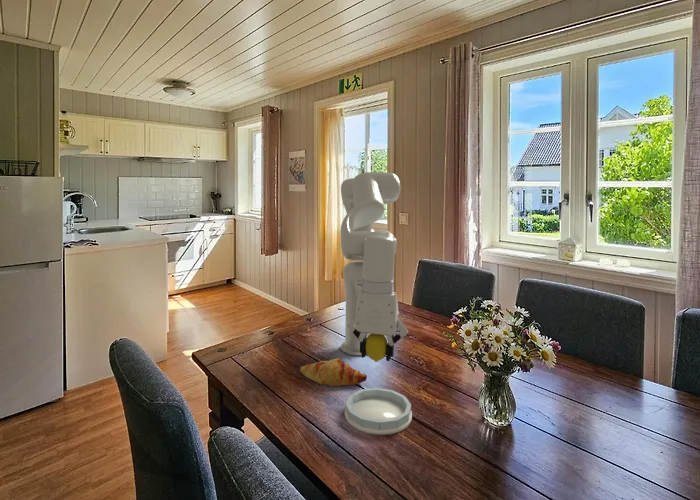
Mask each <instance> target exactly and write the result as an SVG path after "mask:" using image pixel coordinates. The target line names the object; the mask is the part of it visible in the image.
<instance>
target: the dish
mask: <svg viewBox="0 0 700 500" xmlns="http://www.w3.org/2000/svg"><path fill="white" fill-rule="evenodd" d="M344 419H345V421H346V422H347V423H348V425H350V426H351V427H352V428H353V429H355V430H357V431H360V432H362V433H364V434H369V435H377V436H383V435H384V436H386V435H393V434H397V433H400V432H402V431H403V430H405V429H407V428H408V427H409V426H410V424H411V423H412V420H413V411H412V403H411V402H410V401H409V399H408V398H407V397H406V396H405V395H404V394H402V393H400V392H398V391H395V390H393V389H387V388H380V387H372V388H363V389H360V390H358V391H356V392H353V393H352V394H350V395H349V397H348V398H347V400H346V402H345V408H344Z"/></svg>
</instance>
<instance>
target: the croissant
mask: <svg viewBox="0 0 700 500" xmlns="http://www.w3.org/2000/svg"><path fill="white" fill-rule="evenodd" d="M299 370H300V373H301V374H303V376H305V377H306V378H307V379H309V380H311V381H313V382H315V383H317V384H320V385H324V386H325V385H326V386H330V387H340V386H353V385H359V384H361V383H364V382H366V381H367V378H368V375H367V374H366V373H361V371H360V370H358V369H354V368H353V367H352V366H351V365H350V364H349V363H345V362H344V360H343V359H342V358H338V357H337V358H333V359H330V360H321V361H317V362H315V363H308V364H306V365H301V366H300V369H299Z"/></svg>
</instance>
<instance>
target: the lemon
mask: <svg viewBox="0 0 700 500" xmlns="http://www.w3.org/2000/svg"><path fill="white" fill-rule="evenodd" d="M387 344H388V340H387V337H386V335H377V334H370V335H369V336H368V338H367V341H366V346H365V348H366V353H367V355H366V356H367V357H368V358H369V359H371V360H372V361H374V362H375V363H378V362H379V361H381V360H383V359H384V358H386V347H387Z"/></svg>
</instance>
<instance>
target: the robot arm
mask: <svg viewBox="0 0 700 500" xmlns="http://www.w3.org/2000/svg"><path fill="white" fill-rule="evenodd" d="M401 190H402V189H401V182H400V178H399V177H398V176H397V175H396V173H393V172H377V171H375V172H372V171H370V172H369V171H368V172H367V171H366V172H361V173H359V174H357V175H356V176H355V177H353V178H348V179H347V178H346V179H345V180H343V181H342V182H341V185H340V194H341V195H340V196H341V201H342V204H343V207H344V209H345V212H346V215H345V216H344V218H343V220H342V222H341V226H340V248H341V249H340V250H341V252H342V253H341V254H342V256H343V257H344V258H345V259H346V260H347V261H350V262H348V263H347V264H346V265H345V266H344V267H343V273H342V274H343V280H344V281H343V282H344V289H345V290H344V291H345V292H344V293H345V326H344V327H345V328H344V329H345V335H344V337H345V339H344V341H343V342H342V343H341V345H340V350H341V351H342V352H343V353H345V354H348V355H351V356H358V357H359V356H361V358H366V356H368V355H367V353H366V348H365V346H366V341H367V338H368V336H369V335H370V334H377V335H384V336H385V337H386V339H387V343H388V344H387V347H386V356H385V360H386V362H390V361H391V358H393V357H394V355H395V351H394V350H395V344H396V343H397V342H398V341H399V340H401V339H402V338H404V337H405V336H406V335H407V334H409V330H408V329H407V327H406V326H405V325H404V324H403V322H402V321H401V320H400V317H399V314H400V313H399V302H398V296H397V292H396V291H395V259H396V257H395V256H396V253H397V250H398V249H397V247H398V243H397V242H398V241H397V238H396V237H395V235H394V234H393V233H392V232H390V231H389V230H386V229H373V223H376V222H377V221H379V220H380V219H381V218H382V217H383V216H384V213H385V210H386V209H385V205H389V204H393V203H395V202H396V201H398V199H399V198H400V196H401ZM397 330H399V332H397Z"/></svg>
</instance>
